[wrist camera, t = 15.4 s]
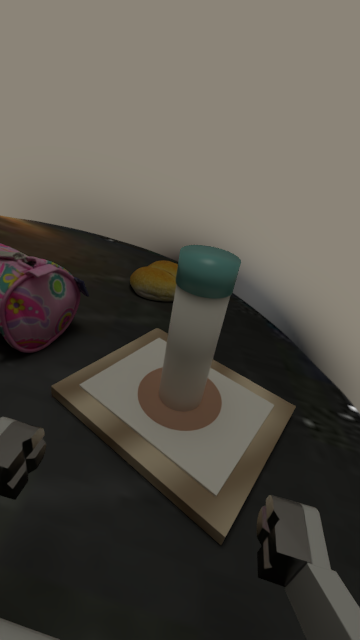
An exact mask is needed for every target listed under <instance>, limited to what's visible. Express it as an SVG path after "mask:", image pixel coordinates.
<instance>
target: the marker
mask: <svg viewBox="0 0 360 640" xmlns="http://www.w3.org/2000/svg"><path fill="white" fill-rule="evenodd" d="M240 264H241V260H240V259H239V258H238V257H237V256H236V255H234V254H232V253H230V252H228V251H225V250H222V249H219V248H214V247H210V246H202V245H189V246H185V247H183V248H181V250H180V256H179V262H178V268H177V274H176V280H175V281H176V290H175V296H174V302H173V308H172V314H171V320H170V326H169V332H168V338H167V344H166V350H165V357H164V363H163V369H162V375H161V381H160V387H159V397H160V400H161V401H162V402H163V404H164V405H166V406H167V407H169V408H170V409H173V410H176V411H182V412H185V411H191V410H193V409H195V408H197V407H198V406H199V405H200V403H201V400H202V396H203V393H204V389H205V385H206V382H207V378H208V375H209V371H210V367H211V364H212V360H213V356H214V353H215V349H216V345H217V342H218V338H219V334H220V331H221V327H222V323H223V320H224V316H225V312H226V309H227V305H228V301H229V298H230V295H231V294H232V292H233V289H234V285H235V282H236V278H237V275H238V271H239V267H240Z"/></svg>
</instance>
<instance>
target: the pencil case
mask: <svg viewBox="0 0 360 640" xmlns="http://www.w3.org/2000/svg"><path fill="white" fill-rule="evenodd" d="M80 292H82V293H83V294H84V295H85V296H89V294H88V291H87V290H86V287H85V284H84V281H81V280H79V279H78V278H75V277H73V276H72V275H71V274H70V273H69V272H68V271H67V270H66V269H64V268H62V267H61V266H59V265H57V264H55V263H53V262H51V261H48V260H44V259H39V258H36V257H29V256H27V255H25V254H23V253H21V252H19V251H17V250H15V249H13V248H11V247H8V246H5V245H3V244H1V243H0V333H1V334H2V336H3V337H4V339H5V340H6V341H7V343H8V344H9V345H10V346H11V347H12V348H14V349H16V350H18V351H20V352H24V353H33V352H37V351H40V350H42V349H44V348H46V347H47V346H48V345H50V344H51V343H52V342H53V341H54V340H56V339H57V338H58V337H59V336H60V335H61V334H62V333H63V332H64V331H65V330H66V329H67V328H68V326H69V325H70V323H71V322H72V320H73V318H74V316H75V314H76V312H77V309H78V306H79V302H80Z"/></svg>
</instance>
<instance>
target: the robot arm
mask: <svg viewBox="0 0 360 640" xmlns="http://www.w3.org/2000/svg"><path fill="white" fill-rule="evenodd" d="M44 435H45V434H44V429H43V428H40V427H36V426H33V425H29V424H26V423H23V422H19V421H17V420H13V419H10V418H6V417H2V418H0V496H4V497H7V498H11V499H14V500H16V498H17V497H18V495H19V494H20V492H21V491H22V489H23V488H24V486H25V485H26V483H27V482H28V474H29V473H30V472H32V471H34V470H36V469H37V467H38V466H39V464H40V463H41V461H42V459H43V456H44V454H45V450H46V443H45V441H44V440H43V439H42V437H43V436H44ZM257 538H258V540H259V542H260V544H261V548H260V549H259V551H258V552H257V562H258V578H261V579H263V580H266V581H269V582H272V583H275V584H278V585H280V586H283V587H285V591H286V593H287V596H288V598H289V600H290V602H291V605H292V607H293V609H294V611H295V614H296V616H297V618H298V620H299V623H300V625H301V627H302V630H303V632H304V634H305V636H306V639H307V640H360V608H359V607H358V605H357V603H356V602H355V600H354V599H353V597H352V596H351V594H350V593H349V591H348V590H347V588H346V586H345V585H344V583H343V582H342V580H341V579H340V577H339V576H338V574H337V573H336V571H333V570H331V568H330V563H329V558H328V553H327V548H326V543H325V539H324V534H323V529H322V524H321V519H320V514H319V512H318V510H317V509H316V508H315V507H311V506H308V505H304V504H301V503H298V502H295V501H291V500H287V499H284V498H280V497H276V496H273V495H269V496H268V497H267V499H266V506H263V507H262V508H261V510H260V512H259V515H258V520H257ZM0 640H60V639H57V638H54V637H51V636H49V635H46V634H43V633H40V632H38V631H35V630H32V629H29V628H27V627H24V626H21V625H18V624H15V623H13V622H10V621H7V620H4V619H2V618H0Z"/></svg>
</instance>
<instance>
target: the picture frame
mask: <svg viewBox="0 0 360 640" xmlns="http://www.w3.org/2000/svg"><path fill="white" fill-rule="evenodd" d="M167 338H168V334H167V333H165V332H164V331H162V330H160V329H158V328H156V329H154V330H153V331H151V332H149V333H147V334H145V335H144V336H142V337H140V338H138V339H136V340H134V341H133V342H131V343H129V344H127V345H125V346H123V347H122V348H120V349H118V350H116V351H114V352H112V353H111V354H109V355H107V356H105V357H103V358H102V359H100V360H98V361H96V362H94V363H92V364H91V365H89V366H87V367H85V368H83V369H81V370H80V371H78V372H76V373H74V374H72V375H70V376H69V377H67V378H65V379H63V380H61V381H60V382H58V383H56V384H54V385H52V386H51V390H52V396H54V397H55V398H56V399H57V400H58V401H59V402H60V403H61V404H63V405H64V406H65V407H66V408H67V409H68V410H69V411H70V412H72V413H73V414H74V415H75V416H76V417H77V418H78V419H79V420H81V421H82V422H83V423H84V424H85V425H86V426H87V427H88V428H89V429H91V430H92V431H93V432H94V433H95V434H96V435H97V436H98V437H100V438H101V439H102V440H103V441H104V442H105V443H106V444H107V445H109V446H110V447H111V448H112V449H113V450H114V451H115V452H116V453H118V454H119V455H120V456H121V457H122V458H123V459H124V460H125V461H127V462H128V463H129V464H130V465H131V466H132V467H133V468H134V469H136V470H137V471H138V472H139V473H140V474H141V475H142V476H143V477H145V478H146V479H147V480H148V481H149V482H150V483H151V484H152V485H154V486H155V487H156V488H157V489H158V490H159V491H160V492H161V493H163V494H164V495H165V496H166V497H167V498H168V499H169V500H170V501H172V502H173V503H174V504H175V505H176V506H177V507H178V508H179V509H180V510H182V511H183V512H184V513H185V514H186V515H187V516H188V517H189V518H191V519H192V520H193V521H194V522H195V523H196V524H197V525H198V526H200V527H201V528H202V529H203V530H204V531H205V532H206V533H207V534H209V535H210V536H211V537H212V538H213V539H214V540H215V541H216V542H218V543H219V544H220V545H222V543H223V541H224V539H225V537H226V535H227V534H228V532H229V530H230V528H231V526H232V524H233V522H234V521H235V519H236V517H237V515H238V513H239V511H240V509H241V508H242V506H243V504H244V502H245V500H246V498H247V496H248V495H249V493H250V491H251V489H252V487H253V485H254V483H255V482H256V480H257V478H258V476H259V474H260V472H261V471H262V469H263V467H264V465H265V463H266V461H267V459H268V458H269V456H270V454H271V452H272V450H273V448H274V446H275V445H276V443H277V441H278V439H279V437H280V435H281V433H282V432H283V430H284V428H285V426H286V424H287V422H288V420H289V419H290V417H291V415H292V413H293V411H294V409H295V407H296V406H294V405H292V404H290V403H289V402H287V401H285V400H283V399H282V398H280V397H278V396H276V395H275V394H273V393H271V392H269V391H267V390H266V389H264V388H262V387H260V386H259V385H257V384H255V383H253V382H252V381H250V380H248V379H246V378H245V377H243V376H241V375H239V374H238V373H236V372H234V371H232V370H230V369H229V368H227V367H225V366H223V365H222V364H220V363H218V362H216V361H215V360H212V364H211V367H210V371H209V375H208V378H207V382H206V385H205V389H204V393H203V396H202V400H201V403H200V405H199V406H198V407H197V408H195V409H193V410H191V411H185V412H182V411H176V410H173V409H170V408H169V407H167V406H166V405H164V404H163V402H162V401H161V400H160V397H159V387H160V381H161V375H162V369H163V363H164V357H165V350H166V344H167Z"/></svg>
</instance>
